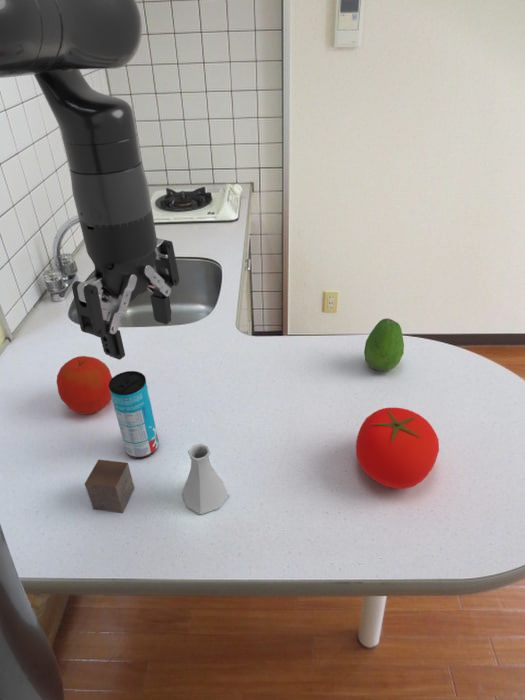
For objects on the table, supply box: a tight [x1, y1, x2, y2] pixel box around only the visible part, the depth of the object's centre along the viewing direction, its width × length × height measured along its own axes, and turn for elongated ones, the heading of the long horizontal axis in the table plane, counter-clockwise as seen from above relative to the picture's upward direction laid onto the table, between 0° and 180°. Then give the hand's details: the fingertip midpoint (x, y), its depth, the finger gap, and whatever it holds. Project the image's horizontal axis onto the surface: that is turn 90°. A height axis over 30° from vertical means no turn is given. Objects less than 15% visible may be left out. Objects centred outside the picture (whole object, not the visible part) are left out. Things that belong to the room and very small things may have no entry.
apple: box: [56, 355, 113, 415], centre depth 100 cm, size 10×10×12 cm
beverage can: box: [109, 370, 159, 459], centre depth 89 cm, size 6×6×15 cm
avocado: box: [363, 317, 405, 372], centre depth 107 cm, size 8×8×12 cm
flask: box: [181, 443, 230, 515], centre depth 81 cm, size 7×7×10 cm
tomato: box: [355, 407, 440, 489], centre depth 84 cm, size 14×13×10 cm
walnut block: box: [84, 459, 135, 514], centre depth 83 cm, size 5×5×6 cm
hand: (140, 338), depth 64 cm, fingers open, 8 cm apart
